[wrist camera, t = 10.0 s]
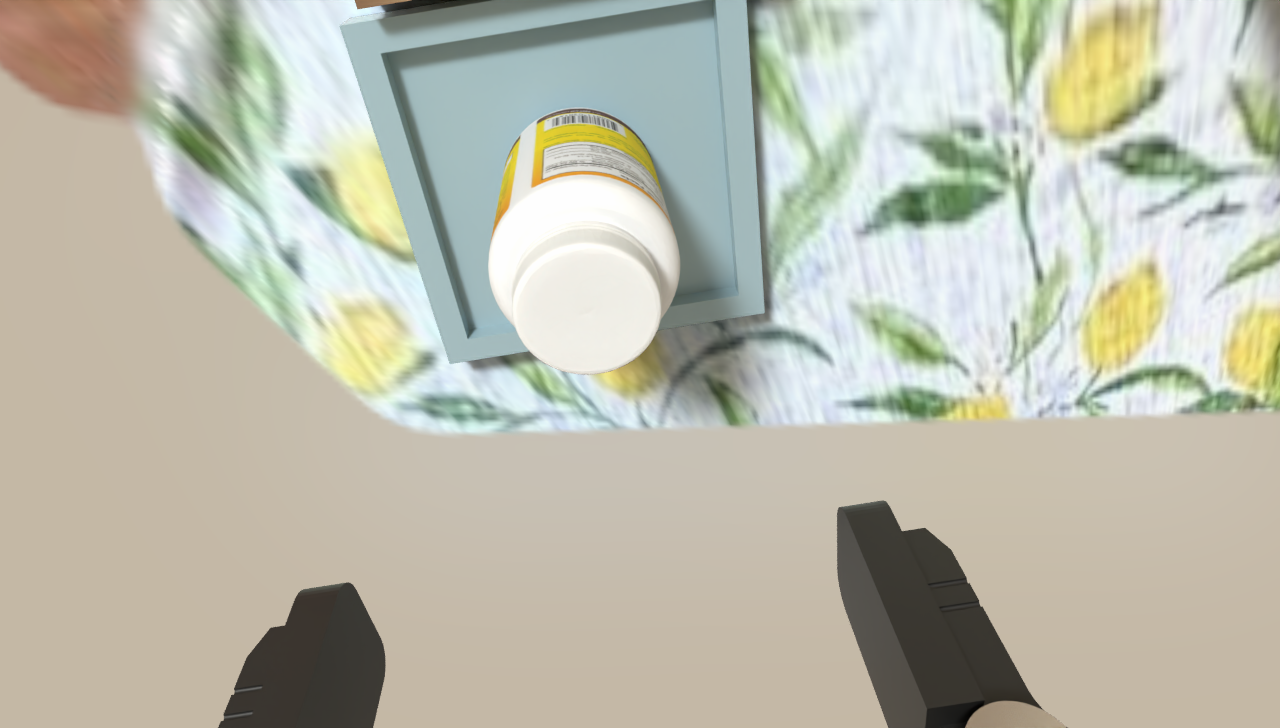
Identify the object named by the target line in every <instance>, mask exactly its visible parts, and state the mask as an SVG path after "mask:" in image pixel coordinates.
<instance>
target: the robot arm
mask: <svg viewBox="0 0 1280 728" xmlns="http://www.w3.org/2000/svg"><path fill="white" fill-rule="evenodd" d="M837 563H838V564H837V565H838V567H837V569H838V580H839V587H840V592H841V596H842V600H843V603H844V607H845V610H846V613H847V615H848V618H849V621H850V623H851V626H852V629H853V632H854V635H855V637H856V640H857V643H858V646H859V648H860V651H861V654H862V657H863V659H864V662H865V665H866V667H867V670H868V673H869V676H870V678H871V681H872V684H873V687H874V689H875V692H876V695H877V698H878V700H879V703H880V706H881V708H882V711H883V714H884V717H885V720H886V722H887V725H888V728H1067V727H1065V726H1064V724H1062V723H1061V722H1060V721H1059V720H1057V719H1056V718H1055V717H1054V716H1052V715H1051V714H1049V713H1047V712H1046V711H1044V710H1043V709H1042V708H1041V707H1040V706H1039V704H1038V703H1037V702H1036V701H1035V700H1034V698H1033V697H1032V695H1031V694H1030V692H1029V691H1028V689H1027V687H1026V685H1025V683H1024V682H1023V680H1022V678H1021V676H1020V674H1019V672H1018V671H1017V669H1016V667H1015V665H1014V663H1013V662H1012V660H1011V658H1010V656H1009V654H1008V653H1007V651H1006V649H1005V647H1004V645H1003V643H1002V642H1001V640H1000V638H999V636H998V635H997V633H996V631H995V629H994V627H993V625H992V623H991V622H990V620H989V618H988V616H987V614H986V612H985V611H984V609H983V607H981V606H980V604H979V600H978V598H977V596H976V594H975V592H974V591H973V589H972V587H971V585H970V584H968V583H967V579H966V576H965V574H964V572H963V571H962V569H961V567H960V566H959V563H958V561H957V560H956V558H955V556H954V554H953V552H952V551H951V549H949V548H948V547H947V546H946V545H945V544H943V543H942V542H941V541H940V540H939V539H937V538H936V537H935V536H934V535H933V534H932V533H930V532H929V531H928V530H927V529H926V528H921V529H915V530H908V531H901V529H900V526H899V525H898V523H897V520H896V518H895V516H894V514H893V513H892V510H891V508H890V507H889V505H888V504H887V502H886V501H877V502H871V503H864V504H858V505H852V506H845V507H839V508H838V513H837ZM384 677H385V653H384V647H383V643H382V640H381V638H380V636H379V634H378V632H377V630H376V628H375V626H374V624H373V622H372V620H371V618H370V616H369V614H368V612H367V610H366V608H365V606H364V604H363V602H362V600H361V598H360V596H359V594H358V592H357V590H356V589H355V587H354V586H353V585H352V584H351V583H341V584H335V585H329V586H322V587H316V588H309V589H304V590H302V591H300V592H299V593H298V595H297V596H296V598H295V601H294V603H293V606H292V609H291V611H290V614H289V617H288V619H287V622H286V625H285V626H280V627H273V628H270V629H269V631H268V632H267V633H266V634H265V636H264V637H263V638H262V640H261V641H260V642H259V643H258V644H257V645H256V647H255V648H254V649H253V650H252V652H251V653H250V654H249V655H248V657H247V658H246V661H245V663H244V666H243V668H242V671H241V673H240V675H239V678H238V680H237V683H236V685H235V688H234V690H235V694H234V695H231V698H230V700H229V703H228V705H227V707H226V710H225V713H224V721H221V723H220V725H219V727H218V728H373V725H374V721H375V717H376V712H377V708H378V704H379V699H380V695H381V691H382V686H383V682H384Z"/></svg>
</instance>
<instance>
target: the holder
mask: <svg viewBox="0 0 1280 728" xmlns="http://www.w3.org/2000/svg"><path fill="white" fill-rule="evenodd" d="M404 1H410V0H355V2H356V6H357V9H362V8H368V7H374V6H380V5H386V4H392V3H398V2H404Z"/></svg>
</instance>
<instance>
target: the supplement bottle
mask: <svg viewBox="0 0 1280 728" xmlns="http://www.w3.org/2000/svg"><path fill="white" fill-rule="evenodd" d="M488 271H489V280H490V285H491V289H492V292H493V295H494V297H495V300H496V302H497V304H498V306H499V308H500V309H501V311H502V312H503V314H504V315H505V317H506V318H507V319H508V320H509V321H510V323H511V324H512V325H513V326H514V327H515V328H516V331H517V333H518V335H519V337H520V339H521V340H522V342H523V344H524V345H525V346H526V348H527V349H528V350H529V351H530V352H531V353H532V354H533V355H534V356H536V357H537V358H538V359H539V360H541V361H542V362H543V363H545V364H547V365H549V366H551V367H553V368H556V369H558V370H561V371H564V372H569V373H574V374H599V373H605V372H609V371H612V370H615V369H617V368H620V367H622V366H625V365H626V364H628V363H630V362H631V361H633V360H634V359H636V358H637V357H638V356H639V355H640V354H641V353H642V352H643V351H644V350H645V349H646V348H647V347H648V346H649V344H650V343H651V342H652V340H653V338H654V336H655V335H656V333H657V330H658V328H659V324H660V320H661V318H662V317H663V316H664V314H665V313H666V311H667V310H668V308H669V306H670V304H671V303H672V300H673V298H674V296H675V293H676V290H677V286H678V282H679V276H680V255H679V249H678V244H677V240H676V236H675V233H674V230H673V227H672V224H671V221H670V217H669V214H668V211H667V208H666V204H665V201H664V197H663V194H662V191H661V187H660V184H659V181H658V178H657V175H656V171H655V168H654V164H653V161H652V158H651V156H650V154H649V152H648V150H647V148H646V146H645V144H644V143H643V141H642V140H641V139H640V137H639V136H638V135H637V134H636V133H635V131H634V130H633V129H632V128H631V127H629V126H628V125H627V124H626V123H624V122H623V121H622V120H620V119H618V118H617V117H615V116H613V115H611V114H609V113H606V112H603V111H600V110H597V109H591V108H583V107H574V108H566V109H560V110H557V111H554V112H551V113H549V114H546V115H544V116H542V117H540V118H539V119H537V120H535V121H534V122H533V123H531V124H530V125H529V126H528V127H527V128H526V129H525V130H524V131H523V132H522V133H521V134H520V135H519V136H518V138H517V139H516V141H515V142H514V144H513V146H512V147H511V149H510V152H509V154H508V157H507V160H506V163H505V167H504V172H503V178H502V184H501V190H500V195H499V200H498V206H497V211H496V216H495V221H494V227H493V232H492V238H491V243H490V250H489V261H488Z"/></svg>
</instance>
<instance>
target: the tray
mask: <svg viewBox="0 0 1280 728" xmlns="http://www.w3.org/2000/svg"><path fill="white" fill-rule="evenodd" d="M340 29H341V32H342V35H343V38H344V41H345V44H346V47H347V50H348V53H349V56H350V59H351V62H352V65H353V69H354V72H355V75H356V78H357V81H358V84H359V87H360V90H361V93H362V96H363V99H364V102H365V105H366V108H367V111H368V114H369V118H370V121H371V124H372V127H373V130H374V133H375V136H376V139H377V142H378V145H379V148H380V151H381V154H382V157H383V160H384V163H385V167H386V170H387V173H388V176H389V179H390V182H391V185H392V188H393V191H394V194H395V197H396V200H397V203H398V206H399V209H400V212H401V216H402V219H403V222H404V225H405V228H406V231H407V234H408V237H409V240H410V243H411V246H412V249H413V252H414V255H415V258H416V261H417V265H418V268H419V271H420V274H421V277H422V280H423V283H424V286H425V289H426V292H427V295H428V298H429V301H430V304H431V307H432V311H433V314H434V317H435V320H436V323H437V326H438V329H439V332H440V335H441V338H442V341H443V344H444V347H445V350H446V353H447V356H448V360H449V363H450V364H453V363H460V362H466V361H472V360H478V359H484V358H491V357H497V356H503V355H509V354H515V353H521V352H528V351H529V350H528V349H527V348H526V346H525V345H524V344H523V342H522V340H521V339H520V337H519V335H518V333H517V331H516V328H515V327H514V326H513V325H512V324H511V323H510V321H509V320H508V319H507V318H506V317H505V315H504V314H503V312H502V311H501V309H500V308H499V306H498V304H497V302H496V300H495V297H494V295H493V292H492V289H491V285H490V280H489V271H488V261H489V250H490V243H491V238H492V232H493V227H494V221H495V216H496V211H497V206H498V200H499V195H500V190H501V184H502V178H503V172H504V167H505V163H506V160H507V157H508V154H509V152H510V149H511V147H512V146H513V144H514V142H515V141H516V139H517V138H518V136H519V135H520V134H521V133H522V132H523V131H524V130H525V129H526V128H527V127H528V126H529V125H530V124H531V123H533V122H534V121H535V120H537V119H539V118H540V117H542V116H544V115H546V114H549V113H551V112H554V111H557V110H560V109H566V108H574V107H583V108H591V109H597V110H600V111H603V112H606V113H609V114H611V115H613V116H615V117H617V118H618V119H620V120H622V121H623V122H624V123H626V124H627V125H628V126H629V127H631V128H632V129H633V130H634V131H635V133H636V134H637V135H638V136H639V137H640V139H641V140H642V141H643V143H644V144H645V146H646V148H647V150H648V152H649V154H650V156H651V158H652V161H653V164H654V168H655V171H656V175H657V178H658V181H659V184H660V187H661V191H662V194H663V197H664V201H665V204H666V208H667V211H668V214H669V217H670V221H671V224H672V227H673V230H674V233H675V236H676V240H677V244H678V249H679V255H680V276H679V282H678V286H677V290H676V293H675V296H674V298H673V300H672V303H671V304H670V306H669V308H668V310H667V311H666V313H665V314H664V316H663V317H662V318H661V320H660V324H659V328H658V330H664V329H670V328H676V327H682V326H688V325H694V324H701V323H707V322H713V321H719V320H725V319H732V318H738V317H744V316H750V315H756V314H762V313H765V309H764V292H763V275H762V258H761V241H760V224H759V207H758V190H757V173H756V155H755V138H754V121H753V104H752V87H751V70H750V53H749V36H748V19H747V2H746V0H457V1H451V2H445V3H439V4H433V5H427V6H421V7H415V8H409V9H402V10H396V11H390V12H384V13H378V14H372V15H366V16H360V17H354V18H349V19H348V20H347V21H345V22H344V23H342V24H341V25H340Z"/></svg>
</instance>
